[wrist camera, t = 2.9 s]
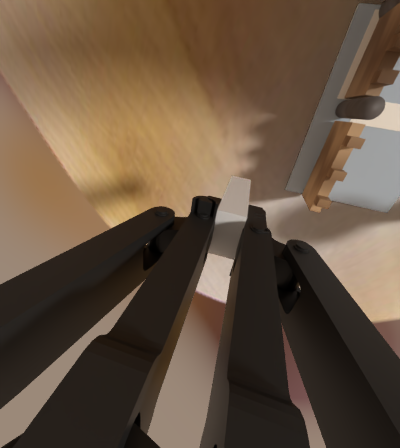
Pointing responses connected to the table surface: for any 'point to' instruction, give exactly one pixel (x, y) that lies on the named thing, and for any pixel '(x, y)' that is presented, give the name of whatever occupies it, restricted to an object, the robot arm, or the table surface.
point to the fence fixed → (374, 67)
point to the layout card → (373, 131)
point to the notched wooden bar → (332, 163)
